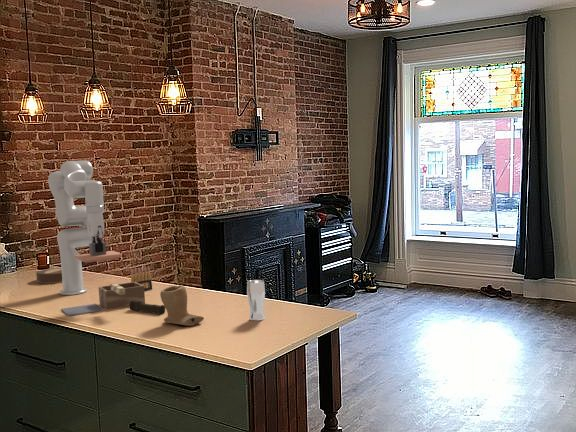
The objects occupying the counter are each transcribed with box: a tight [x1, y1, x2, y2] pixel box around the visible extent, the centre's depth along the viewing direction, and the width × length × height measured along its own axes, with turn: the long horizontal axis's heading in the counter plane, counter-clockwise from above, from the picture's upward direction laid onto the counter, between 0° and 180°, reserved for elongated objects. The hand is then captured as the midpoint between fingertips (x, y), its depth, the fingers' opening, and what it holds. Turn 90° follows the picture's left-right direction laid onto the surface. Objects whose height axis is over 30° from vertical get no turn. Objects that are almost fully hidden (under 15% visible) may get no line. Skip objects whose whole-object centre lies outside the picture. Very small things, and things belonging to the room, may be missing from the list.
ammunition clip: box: [130, 265, 153, 292], centre depth 309 cm, size 11×2×12 cm, turn 130°
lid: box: [75, 241, 123, 264], centre depth 276 cm, size 12×17×7 cm
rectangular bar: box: [110, 282, 125, 295], centre depth 264 cm, size 14×2×2 cm, turn 32°
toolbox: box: [98, 281, 146, 311], centre depth 283 cm, size 12×17×8 cm
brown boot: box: [159, 284, 205, 327], centre depth 245 cm, size 15×12×15 cm
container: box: [35, 267, 63, 285], centre depth 346 cm, size 20×20×6 cm
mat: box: [60, 303, 105, 317], centre depth 274 cm, size 14×15×1 cm
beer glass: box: [246, 279, 266, 322], centre depth 248 cm, size 7×7×15 cm
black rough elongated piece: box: [128, 300, 166, 316], centre depth 267 cm, size 19×4×5 cm, turn 56°
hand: (97, 250), depth 276 cm, fingers closed on lid, 4 cm apart
